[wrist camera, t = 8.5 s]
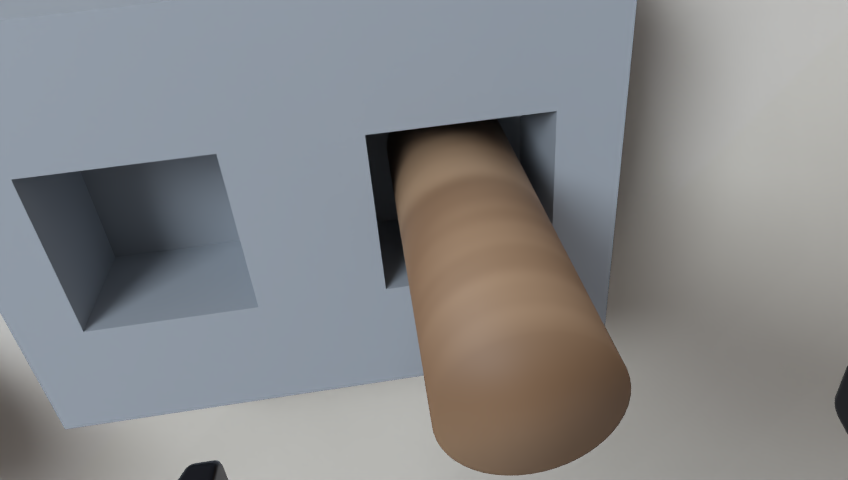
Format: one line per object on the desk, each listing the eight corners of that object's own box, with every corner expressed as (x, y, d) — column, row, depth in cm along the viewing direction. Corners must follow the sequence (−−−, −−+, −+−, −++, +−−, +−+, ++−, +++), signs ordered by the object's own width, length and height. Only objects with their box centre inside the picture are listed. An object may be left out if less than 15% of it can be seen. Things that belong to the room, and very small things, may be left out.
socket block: (558, 262, 21) (602, 348, 18) (105, 325, 20) (65, 429, 17) (573, -85, 16) (641, -51, 12) (-49, -19, 15) (-154, 37, 12)
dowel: (502, 189, 18) (621, 460, 11) (393, 203, 18) (437, 487, 11) (502, 84, 17) (641, 318, 9) (381, 98, 17) (424, 347, 9)
